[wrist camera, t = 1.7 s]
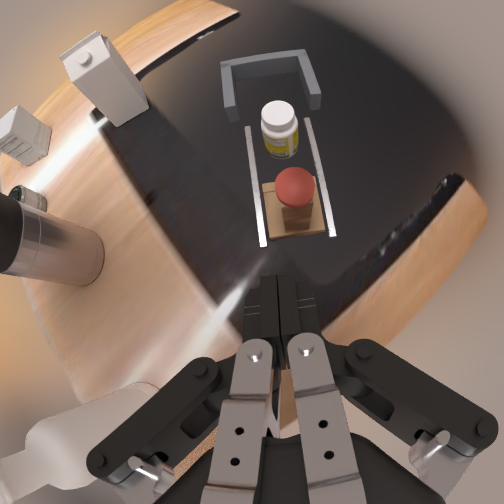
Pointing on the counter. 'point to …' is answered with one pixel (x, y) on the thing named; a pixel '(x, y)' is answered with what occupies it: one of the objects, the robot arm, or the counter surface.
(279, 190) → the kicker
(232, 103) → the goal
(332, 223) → the track
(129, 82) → the milk carton
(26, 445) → the bottle
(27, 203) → the camera lens
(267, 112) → the supplement bottle
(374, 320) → the counter surface
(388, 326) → the counter surface
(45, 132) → the supplement box
